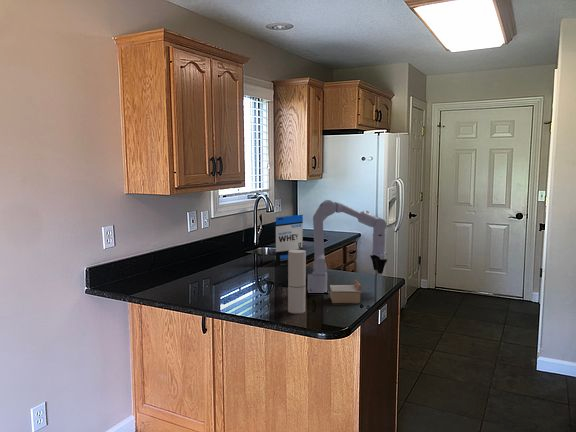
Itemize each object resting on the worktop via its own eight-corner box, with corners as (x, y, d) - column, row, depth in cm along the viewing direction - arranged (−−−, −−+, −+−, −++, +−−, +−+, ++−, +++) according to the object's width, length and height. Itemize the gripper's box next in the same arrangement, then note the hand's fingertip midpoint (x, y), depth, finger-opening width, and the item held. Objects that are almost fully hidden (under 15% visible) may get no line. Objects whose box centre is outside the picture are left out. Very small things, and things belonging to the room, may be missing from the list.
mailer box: (332, 304, 208) (332, 292, 208) (330, 297, 218) (330, 287, 218) (360, 304, 209) (360, 292, 208) (356, 297, 219) (356, 287, 218)
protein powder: (270, 266, 290) (270, 216, 287) (296, 260, 307) (297, 214, 304) (281, 268, 283) (281, 217, 280) (308, 262, 301) (308, 215, 298)
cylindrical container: (304, 308, 202) (305, 249, 199) (305, 313, 195) (306, 252, 192) (287, 308, 202) (288, 249, 199) (288, 313, 195) (288, 252, 192)
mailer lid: (332, 292, 208) (332, 285, 207) (329, 286, 218) (329, 279, 218) (360, 292, 208) (360, 285, 208) (356, 286, 218) (357, 279, 218)
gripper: (391, 245, 219) (390, 274, 220) (383, 241, 234) (382, 268, 235) (376, 245, 219) (375, 275, 220) (368, 241, 233) (368, 268, 234)
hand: (378, 271), depth 227 cm, fingers open, 7 cm apart
